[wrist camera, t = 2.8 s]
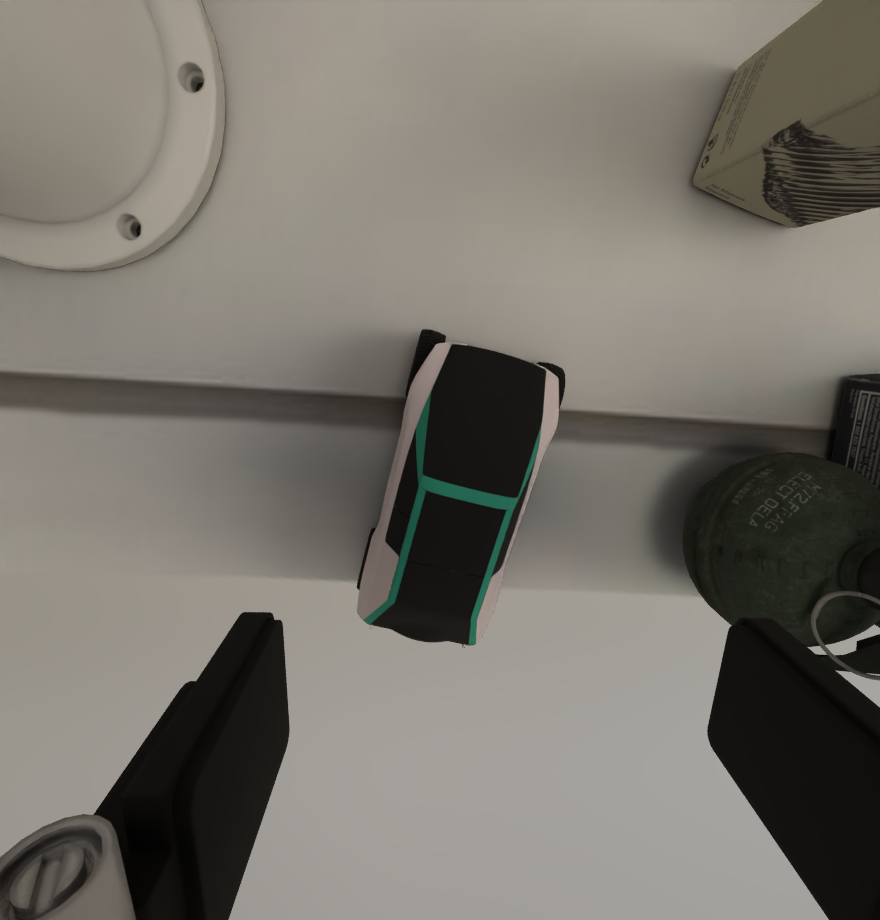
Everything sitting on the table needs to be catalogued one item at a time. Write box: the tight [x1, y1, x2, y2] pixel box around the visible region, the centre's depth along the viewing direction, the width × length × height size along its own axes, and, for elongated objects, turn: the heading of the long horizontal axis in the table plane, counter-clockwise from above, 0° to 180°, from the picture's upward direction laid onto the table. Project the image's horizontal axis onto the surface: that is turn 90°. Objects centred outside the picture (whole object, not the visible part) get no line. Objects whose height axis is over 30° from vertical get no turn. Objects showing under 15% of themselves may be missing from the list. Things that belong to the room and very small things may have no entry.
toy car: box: [357, 330, 565, 648], centre depth 19 cm, size 6×12×5 cm, turn 165°
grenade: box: [682, 453, 880, 680], centre depth 18 cm, size 8×8×10 cm
